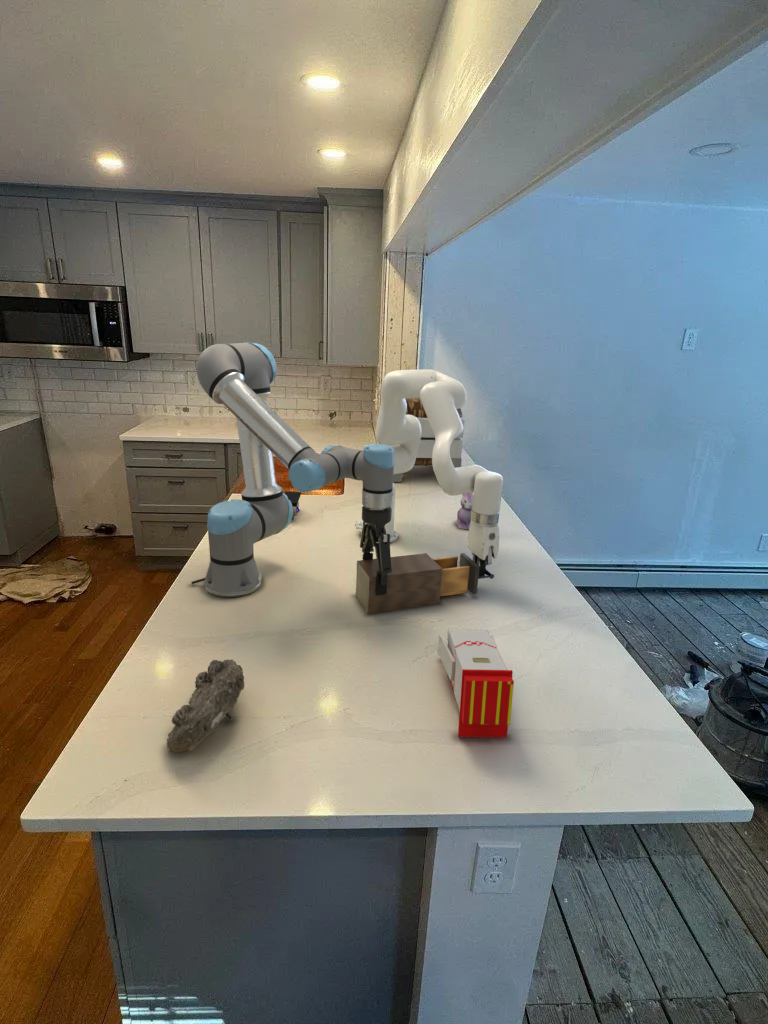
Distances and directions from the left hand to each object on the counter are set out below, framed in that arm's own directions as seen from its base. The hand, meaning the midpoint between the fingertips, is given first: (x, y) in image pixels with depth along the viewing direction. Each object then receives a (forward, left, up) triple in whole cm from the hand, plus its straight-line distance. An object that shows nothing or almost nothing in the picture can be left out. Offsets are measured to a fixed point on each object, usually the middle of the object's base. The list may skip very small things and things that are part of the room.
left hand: (373, 584), depth 150 cm
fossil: (-25, -49, -6) cm, 56 cm away
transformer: (+6, +132, -6) cm, 132 cm away
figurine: (+27, +65, -6) cm, 70 cm away
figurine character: (-39, +61, -6) cm, 72 cm away
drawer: (+20, +10, -5) cm, 23 cm away
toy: (+25, -34, -6) cm, 42 cm away
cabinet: (+6, +3, -6) cm, 9 cm away
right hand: (+28, +14, -2) cm, 32 cm away
